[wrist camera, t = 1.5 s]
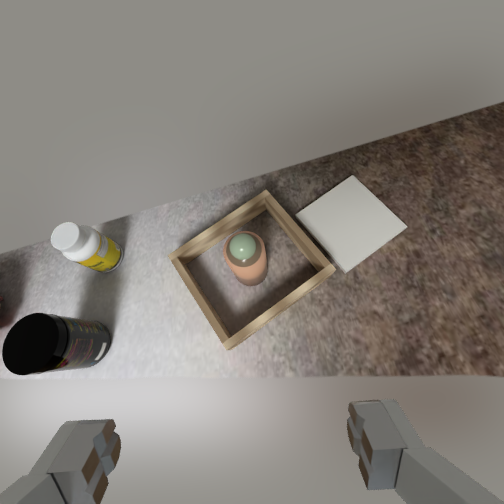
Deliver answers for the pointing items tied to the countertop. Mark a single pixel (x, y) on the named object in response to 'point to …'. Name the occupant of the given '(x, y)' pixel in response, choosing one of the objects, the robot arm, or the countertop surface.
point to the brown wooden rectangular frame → (226, 228)
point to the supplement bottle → (87, 247)
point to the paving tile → (350, 223)
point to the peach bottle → (246, 257)
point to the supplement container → (54, 344)
